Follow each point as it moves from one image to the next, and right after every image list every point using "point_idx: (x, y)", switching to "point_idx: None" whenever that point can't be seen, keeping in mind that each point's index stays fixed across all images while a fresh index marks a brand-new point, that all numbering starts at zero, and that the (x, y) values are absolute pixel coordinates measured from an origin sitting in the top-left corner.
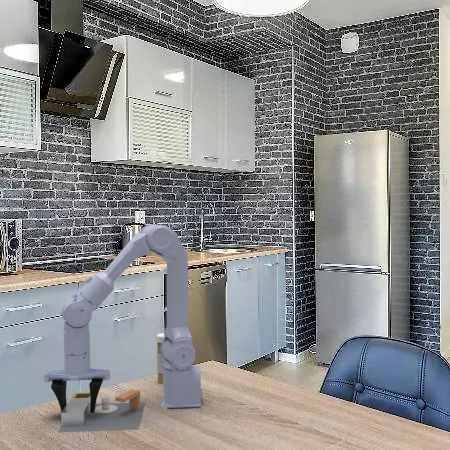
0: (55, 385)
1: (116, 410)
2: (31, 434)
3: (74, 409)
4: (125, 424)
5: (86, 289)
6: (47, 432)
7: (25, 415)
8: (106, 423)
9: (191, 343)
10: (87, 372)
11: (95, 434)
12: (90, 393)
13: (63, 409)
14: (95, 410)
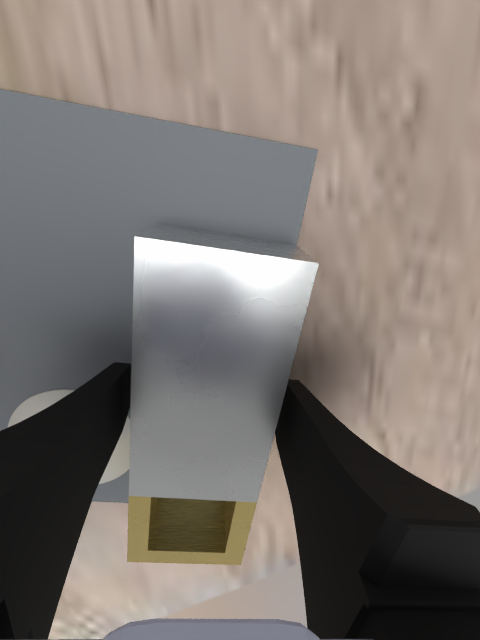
0: (455, 551)
1: (9, 415)
2: (460, 189)
3: (218, 316)
4: None
5: None
6: (371, 198)
7: (447, 441)
8: (10, 229)
9: None
10: None
11: (54, 65)
12: (61, 440)
13: (300, 333)
14: (125, 429)
